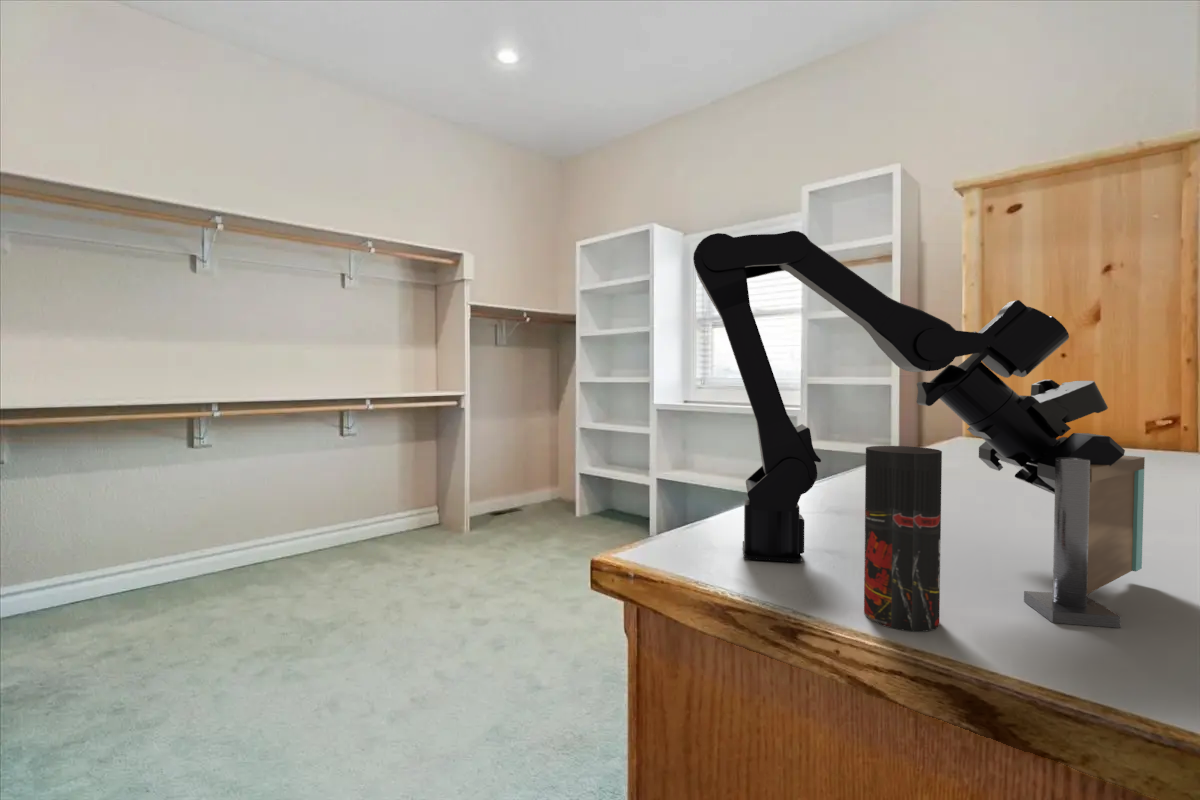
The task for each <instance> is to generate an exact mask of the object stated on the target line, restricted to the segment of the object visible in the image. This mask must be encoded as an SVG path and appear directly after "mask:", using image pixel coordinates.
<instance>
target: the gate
mask: <svg viewBox="0 0 1200 800" xmlns="http://www.w3.org/2000/svg"><path fill="white" fill-rule="evenodd" d="M1145 458H1146V457H1145V456H1134V455H1125V454H1124V455H1123V456H1122V457H1121V458H1120V459H1118V460H1117V461H1116V462H1115V463H1114V464H1112V465H1111V466H1110V465H1091V464H1090V495H1089V538H1088V581H1087V595H1089V594H1091V593H1093V592H1094V591H1097V590H1098V589H1100V588H1102V587H1104V586H1106V585H1107V584H1110V583H1111V582H1114V581H1116V580H1117V579H1119V578H1121V577H1123V576H1125V575H1127V574H1128V573H1131V572H1138V571H1140V570H1141V569H1142V568H1143V567H1142V565H1143V540H1144V539H1143V534H1144V499H1145V498H1144V494H1145V486H1144V485H1145V460H1146V459H1145Z"/></svg>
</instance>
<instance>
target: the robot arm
mask: <svg viewBox="0 0 1200 800" xmlns="http://www.w3.org/2000/svg"><path fill="white" fill-rule="evenodd" d="M692 257H693V258H692V259H693V265H694V269H695V271H696V274H697V277H698V280H699V282H700V283H701V285H702V287H703V288H704V290H705V292H706V295H707V297H708V298H709V299H710V301H711V303H712V304H713V307H714V309H715V310H716V311H717V313H718V316H719V317H720V319H721V321H722V324H723V327H724V330H725V332H726V336H727V338H728V341H729V344H730V347H731V351H732V353H733V355H734V356H733V357H734V358H735V362H736V365H737V368H738V371H739V374H740V377H741V380H742V383H743V386H744V388H745V391H746V395H747V398H748V399H749V400H748V401H749V403H750V406H751V410H752V412H753V415H754V417H755V421H756V428H757V435H758V444H759V450H760V457H761V458H760V459H761V466H760V467H758V469H757V470H756V471H754V472H753V473H752V474H751V475H750V476H749V477H748V478H747V479H746V480H745V486H746V491H747V492H746V493H747V494H746V495H747V497H748V499H744V500H743V505H744V506H743V513H744V514H743V515H744V517H743V519H744V520H743V522H744V523H743V541H742V551H743V552H742V553H743V554H742V555H743V558H744V559H745V560H757V561H772V562H773V561H774V562H787V563H788V562H789V563H801V562H802V555H801V554H803V555H804V553H805V519H804V517H803V515H802V514H801V513H800V506H799V500H800V498H801V496H802V495H804V494H806V493H807V492H809V491H810V490H811V489H813V487H814V485H815V482H817V479H818V468H817V464H816V463H821V462H822V459H821V458H820V457H819V456H818V454H817V453H816V452H815V448H814V445H813V440H812V439H813V438H812V434H811V430H810V428H809V427H807V426H806V425H804V424H803V423H802V424H799V425H796V426H795V425H794V424H793V421H792V420H791V418H790V417H789V415H788V413H787V410H786V406H785V403H784V402H783V399H782V396H781V393H780V389H779V386H778V383H777V381H776V378H775V375H774V372H773V369H772V366H771V363H770V360H769V358H768V355H767V351H766V349H765V345H764V343H763V340H762V337H761V336H762V335H761V333H760V331H759V327H758V325H757V322H756V320H755V319H756V318H755V316H754V313H753V311H752V307H751V302H750V296H749V295H750V294H749V293H750V292H749V286H748V279H752V278H757V277H760V276H761V277H762V276H766V275H769V274H773V273H777V272H787V273H789V274H790V275H792V276H793V278H796V279H797V280H798V281H799V282H801V283H802V284H804V285H805V286H806V287H808V288H809V289H811V290H812V291H813V292H815V293H816V294H817V295H819V296H820V297H821V298H822V299H824V300H826V301H827V302H829V303H830V304H831V305H833V307H835V308H837V310H839V311H841V312H842V313H843V314H845V315H846V316H848V318H850V319H852V320H853V321H854V322H856V323H857V324H859V325H860V326H862V328H863V329H864V330H865V331H866V333H868V334H869V336H870V337H871V338H872V340H873V341H874V342H875V344H876V346H877V347H878V348H879V349H880V350H881V351H882V352H883V353H884V354H885V355H886V356H887V358H889V360H891V362H892V363H893V364H894V365H896V366H897V367H898V368H900V369H901V370H904V371H905V372H909V373H911V372H912V373H919V372H922V373H923V372H934V371H935V372H936V371H939V370H941V369H942V371H940V372H939V373H938V374H937V375H936V376H935V377H934V378H932V379H931V380H930V381H918V382H917V383H916V387H917V396H916V404H917V405H918V406H926V407H931V406H933V405H934V404H935V403H936V402H937V401H939V400H940V401H941V402H942V403H944V404H945V405H946V407H948V408H949V409H950V410H951V411H953V413H954V414H956V415H957V416H958V417H959V418H960V420H962V421H963V422H964V423H965V424H966V425H968V428H966V430H967V431H968V432H969V433H971V435H972V436H974V437H979V438H982V439H983V440H984V442H983V443H982V444H981V445H980V446H979V447H978V458H979V459H980V460H981V461H982V462H983V463H984V464H985V465H986V466H987V467H989V468H990V469H993V470H996V471H1001V470H1003V468H1004V467H1003V465H1002V463H1001V462H1004V463H1006V464H1007V465H1010V466H1014V468H1016V469H1017V470H1018V471H1017V472H1016V473H1015V475H1014V478H1016V479H1017V480H1020V481H1022V482H1025V483H1027V484H1030V485H1031V486H1035V487H1036V488H1038V489H1042V490H1044V491H1046V492H1048V493H1051V494H1053V495H1055V461H1056V458H1058V457H1067V458H1081V459H1088V460H1090V464H1091V465H1110V466H1111V465H1112V464H1114V463H1115V462H1116V461H1117V460H1118V459H1120V458H1121V457H1122V456H1123V455H1124V456H1125V452H1126V450H1125V449H1124V448H1123V447H1122V446H1121V445H1120V444H1119V443H1117V442H1116V441H1115V440H1114V439H1113V438H1112V437H1111V436H1108V435H1102V434H1097V433H1096V434H1095V433H1089V432H1086V433H1084V432H1082V433H1081V432H1072V434H1070V435H1069V436H1068V437H1066V436H1064V435H1065V434H1066V433H1067V432H1069V430H1071V429H1072V428H1071V427H1070V426H1069V424H1067V423H1071V422H1074V421H1076V420H1078V419H1081V418H1084V417H1086V416H1089V415H1091V414H1094V413H1095V414H1099V413H1102V412H1104V411H1107V410H1108V408H1109V407H1108V404H1107V402H1106V401H1105V398H1104V397H1103V395H1102V393H1101V391H1100V389H1099V387H1098V385H1097V384H1096V382H1095V380H1074V381H1070V382H1068V381H1067V382H1066V381H1065V382H1063V383H1061V385H1060V384H1058V383H1057V381H1055V380H1053V379H1042V380H1039V381H1036V382H1034V383H1032V384H1031V385H1030V387H1031V388H1030V395H1019V394H1018V393H1016V392H1015V390H1013V389H1012V388H1011V387H1010V386H1009V385H1008V384H1007V383H1005V382H1004V380H1002V379H1001V378H1000V377H999V376H1001V377H1003V378H1008V379H1009V378H1010V377H1012V375H1013V376H1016V377H1018V378H1019V377H1020V378H1025V377H1027V376H1028V375H1029V374H1030V373H1031V372H1032V371H1033V370H1035V369H1036V368H1037V367H1038V366H1039V365H1041V363H1043V362H1044V361H1045V360H1046V359H1047V358H1048V357H1050V356H1051V355H1052V354H1053V353H1054V352H1055V351H1057V350H1058V349H1059V348H1060V347H1061V346H1062V345H1063V344H1065V343H1066V342H1067V341H1068V340H1069V338H1070V334H1069V331H1067V328H1066V327H1065V326H1064V325H1063V324H1062V322H1060V320H1058V319H1056V317H1054V316H1053V315H1051V316H1050V315H1048V314H1046V313H1045V312H1043V311H1041V310H1039V309H1037V308H1034V307H1030V306H1027V305H1026V304H1024V303H1023V302H1022V301H1021V300H1020V299H1016V300H1012V301H1008V302H1007V303H1006V304H1005V305H1004V306H1003V307H1002V308H1000V309H999V311H998V312H997V314H996V315H995V316H994V317H993V318H992V319H991V320H990V321H989V322H988V323H987V324H986V325H984V327H982V328H981V329H980V330H979V331H974V330H973V331H965V330H956V328H954V327H953V326H952V325H951V324H950V323H949V322H947V321H945V320H942V319H941V318H938V317H936V316H934V315H932V314H930V313H928V312H925V311H924V310H922V309H920V308H915V307H913V306H910V305H908V304H904V303H901V302H900V301H897V300H895V299H893V298H890V297H889V296H888V295H886V294H885V293H883V292H882V291H881V290H879V289H878V288H877V287H876V286H874V285H872V284H871V283H869V282H868V281H866V280H865V279H864V278H862V277H861V276H859V275H858V274H857V273H855V272H854V271H853V270H852V269H850V268H848V267H847V266H846V265H844V264H843V263H841V262H840V261H839V260H837V259H836V258H834V257H833V256H832V255H831V254H829V253H828V252H826V251H825V250H823V249H822V248H820V247H819V246H818V245H816V244H815V243H814V242H812V240H810V239H809V237H808V236H807V235H806V234H805V233H803V232H801V231H799V230H790V231H785V232H781V233H766V234H765V233H764V234H762V233H760V234H758V233H757V234H746V235H741V236H740V235H739V236H731V235H729V234H727V233H720V232H717V233H714V234H709V235H708V236H705V237H704V238H702V240H701V241H700V242H699V243H698V244H697V245H696V247H695V250H694V253H693V256H692ZM968 355H969V356H968ZM963 356H968V357H967V358H966V359H965V360H964V361H962V362H961V363H960V364H959V365H954V364H951V363H952V362H954V360H955V358H959V357H963ZM998 375H999V376H998ZM1058 437H1059V438H1058ZM999 461H1001V462H999Z"/></svg>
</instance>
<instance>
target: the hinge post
mask: <svg viewBox="0 0 1200 800" xmlns="http://www.w3.org/2000/svg"><path fill="white" fill-rule="evenodd" d="M1089 495H1090V460H1088V459H1081V458H1067V457H1058V458H1056V461H1055V494H1054V512H1053V513H1054V516H1053V517H1054V519H1053V521H1054V522H1053V554H1052V555H1053V561H1052V563H1053V564H1052V566H1053V567H1052V592H1048V591H1047V592H1046V591H1033V590H1023V602H1024V603H1025V604H1026V605H1028V606H1029V607H1031V608H1032V609H1033V610H1034V611H1037V612H1038V613H1039V614H1041V616H1042V617H1044V618H1046V619H1047V620H1048V621H1050V622H1051V623H1053V624H1066V625H1077V626H1079V625H1080V626H1089V627H1091V626H1093V627H1104V628H1105V627H1106V628H1117V629H1120V628H1121V616H1120V615H1119V614H1117V613H1115V612H1114V611H1113V610H1111V609H1109V608H1107V607H1106V606H1104V605H1103V604H1100V603H1099V602H1097V601H1096V600H1094V599H1092V598H1091V597H1089V596H1088V594H1087V581H1088V538H1089Z"/></svg>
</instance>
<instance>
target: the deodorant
mask: <svg viewBox="0 0 1200 800" xmlns="http://www.w3.org/2000/svg"><path fill="white" fill-rule="evenodd" d="M942 459H943V451H942V450H940V449H935V448H931V447H930V448H929V447H919V446H903V445H875V446H874V445H873V446H867V447H865V472H864V473H865V474H864V475H865V483H864V484H865V487H864V488H865V489H864V490H865V491H864V493H865V494H864V498H865V499H864V500H865V501H864V568H863V569H864V573H863V575H864V577H863V579H864V580H863V581H864V585H863V587H864V588H863V593H864V594H863V614H864V615H865V616H866V618H868V619H869V620H871V621H872V622H874V623H877V624H878V625H881V626H884V627H887V628H891V629H894V630H899V631H907V632H918V633H920V632H921V633H922V632H930V631H933V630H936V629H937V628H939V626H940V605H941V603H940V600H941V595H940V594H941V591H940V590H941V586H940V585H941V539H942V538H941V536H942V534H941V530H942V529H941V528H942V527H941V526H942V467H943V465H942V464H943V461H942Z"/></svg>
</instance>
